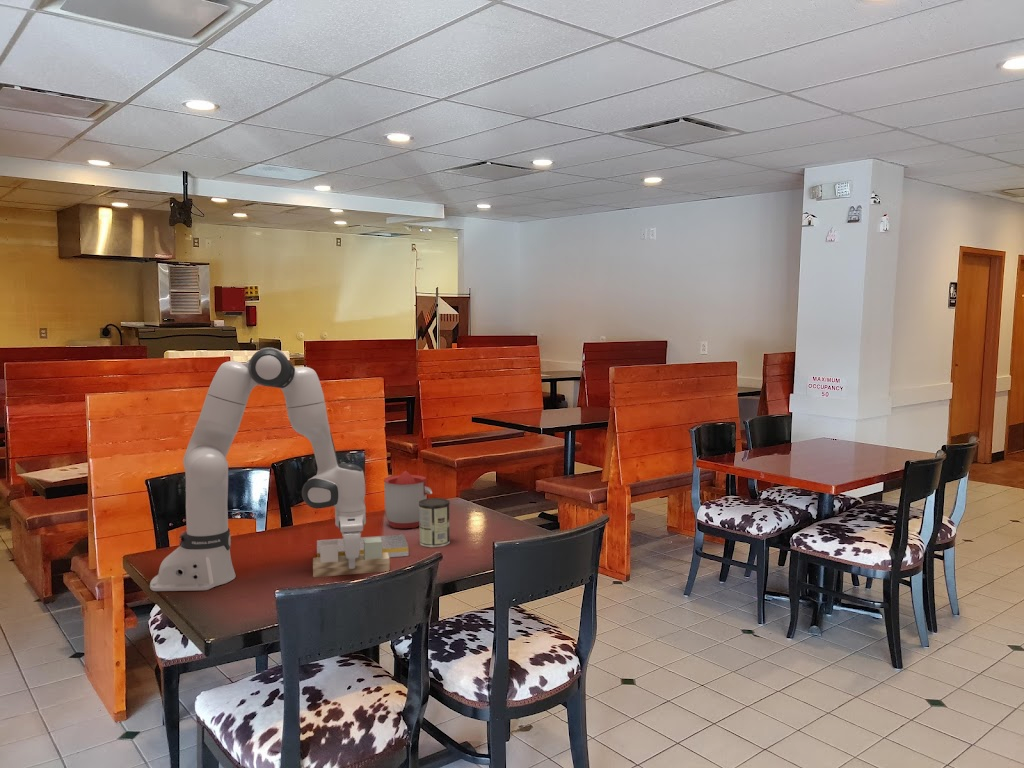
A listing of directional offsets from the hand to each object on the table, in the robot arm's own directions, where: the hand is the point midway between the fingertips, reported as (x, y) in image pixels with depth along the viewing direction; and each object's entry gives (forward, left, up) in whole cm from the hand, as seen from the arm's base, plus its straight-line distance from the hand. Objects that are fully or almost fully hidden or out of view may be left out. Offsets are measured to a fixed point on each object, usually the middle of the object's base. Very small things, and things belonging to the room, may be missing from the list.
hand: (351, 564), depth 227 cm
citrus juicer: (+22, +46, -2) cm, 51 cm away
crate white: (-6, 0, +2) cm, 7 cm away
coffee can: (+28, +22, -2) cm, 36 cm away
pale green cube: (+6, 0, +2) cm, 7 cm away
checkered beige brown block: (0, 0, -2) cm, 2 cm away
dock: (+4, +17, -2) cm, 18 cm away
